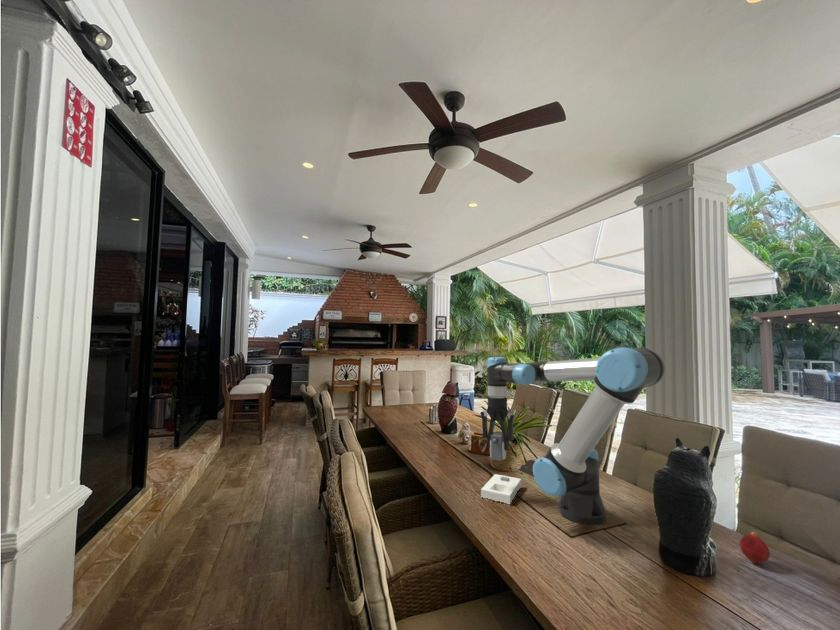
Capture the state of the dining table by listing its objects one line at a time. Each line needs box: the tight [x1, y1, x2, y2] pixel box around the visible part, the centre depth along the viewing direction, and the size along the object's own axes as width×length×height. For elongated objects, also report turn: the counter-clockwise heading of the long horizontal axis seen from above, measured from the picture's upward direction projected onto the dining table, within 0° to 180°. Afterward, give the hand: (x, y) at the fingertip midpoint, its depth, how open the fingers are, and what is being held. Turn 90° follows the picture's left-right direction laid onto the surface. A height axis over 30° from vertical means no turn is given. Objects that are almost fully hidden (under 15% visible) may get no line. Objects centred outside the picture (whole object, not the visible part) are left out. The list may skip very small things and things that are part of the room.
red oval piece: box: [739, 531, 771, 565], centre depth 94 cm, size 6×6×8 cm
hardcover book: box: [518, 459, 536, 477], centre depth 158 cm, size 16×23×2 cm
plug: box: [490, 432, 504, 462], centre depth 134 cm, size 4×7×9 cm, turn 151°
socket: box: [480, 473, 522, 504], centre depth 137 cm, size 11×18×4 cm, turn 151°
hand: (498, 457), depth 135 cm, fingers closed on plug, 4 cm apart
